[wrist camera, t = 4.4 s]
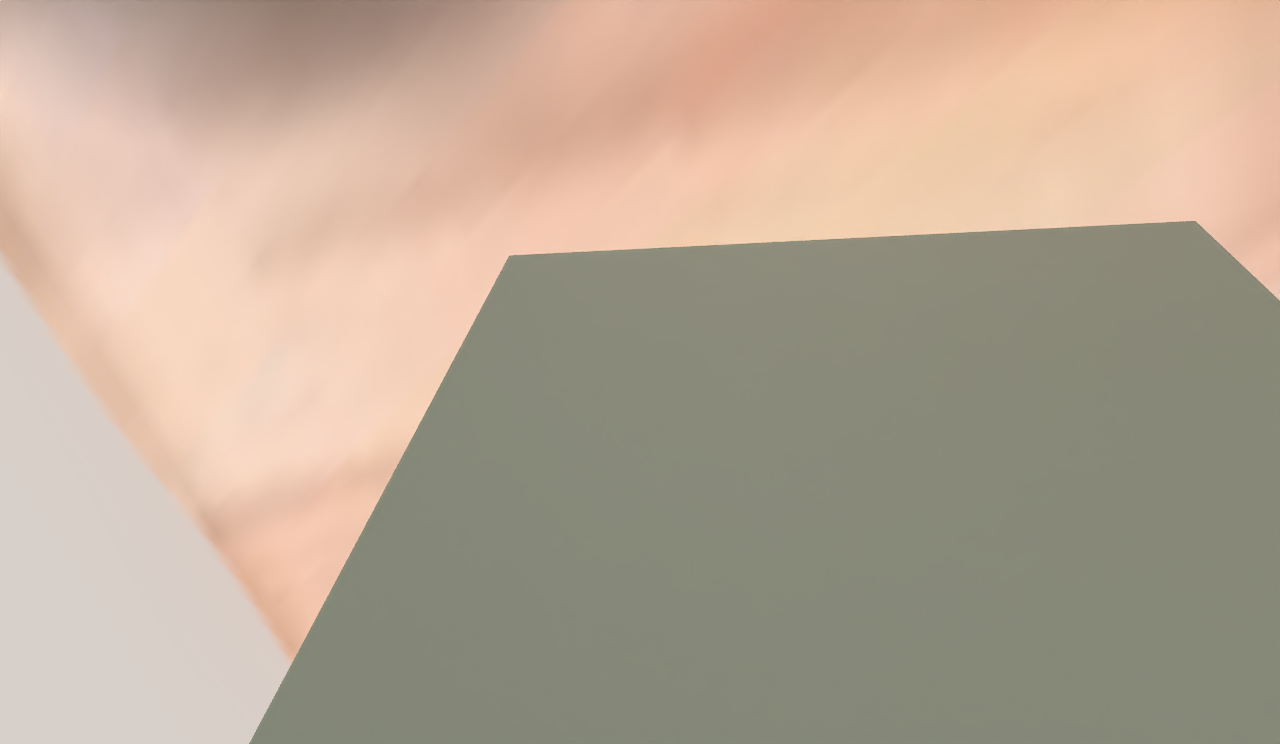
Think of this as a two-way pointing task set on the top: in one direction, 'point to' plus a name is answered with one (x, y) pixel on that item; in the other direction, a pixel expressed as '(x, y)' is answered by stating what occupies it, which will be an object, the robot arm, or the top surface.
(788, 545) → the sage cube
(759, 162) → the top surface
